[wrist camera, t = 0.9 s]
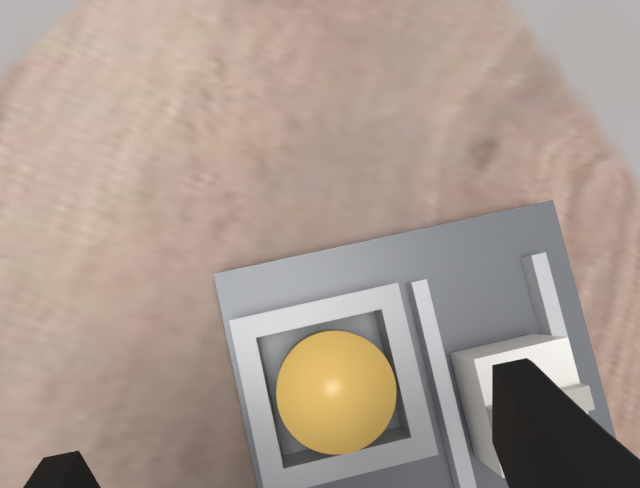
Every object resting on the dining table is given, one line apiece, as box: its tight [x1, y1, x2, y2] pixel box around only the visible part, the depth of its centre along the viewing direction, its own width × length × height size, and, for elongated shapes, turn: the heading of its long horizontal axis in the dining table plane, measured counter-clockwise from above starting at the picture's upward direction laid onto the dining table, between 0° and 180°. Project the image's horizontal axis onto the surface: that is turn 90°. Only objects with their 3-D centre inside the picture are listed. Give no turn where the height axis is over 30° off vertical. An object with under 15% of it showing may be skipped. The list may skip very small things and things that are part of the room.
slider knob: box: [450, 334, 595, 478], centre depth 22 cm, size 4×3×4 cm
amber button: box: [276, 330, 397, 455], centre depth 21 cm, size 4×4×2 cm
